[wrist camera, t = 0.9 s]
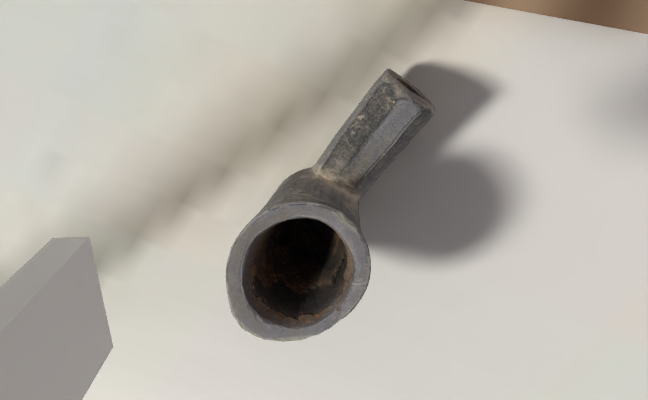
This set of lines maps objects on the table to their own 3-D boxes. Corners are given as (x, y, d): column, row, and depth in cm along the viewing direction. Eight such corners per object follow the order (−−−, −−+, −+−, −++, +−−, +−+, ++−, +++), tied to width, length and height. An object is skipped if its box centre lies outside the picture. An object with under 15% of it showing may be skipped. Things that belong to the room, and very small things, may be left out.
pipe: (446, 108, 29) (486, 153, 22) (309, 281, 33) (304, 369, 26) (352, 39, 28) (362, 63, 21) (222, 228, 32) (190, 304, 25)
